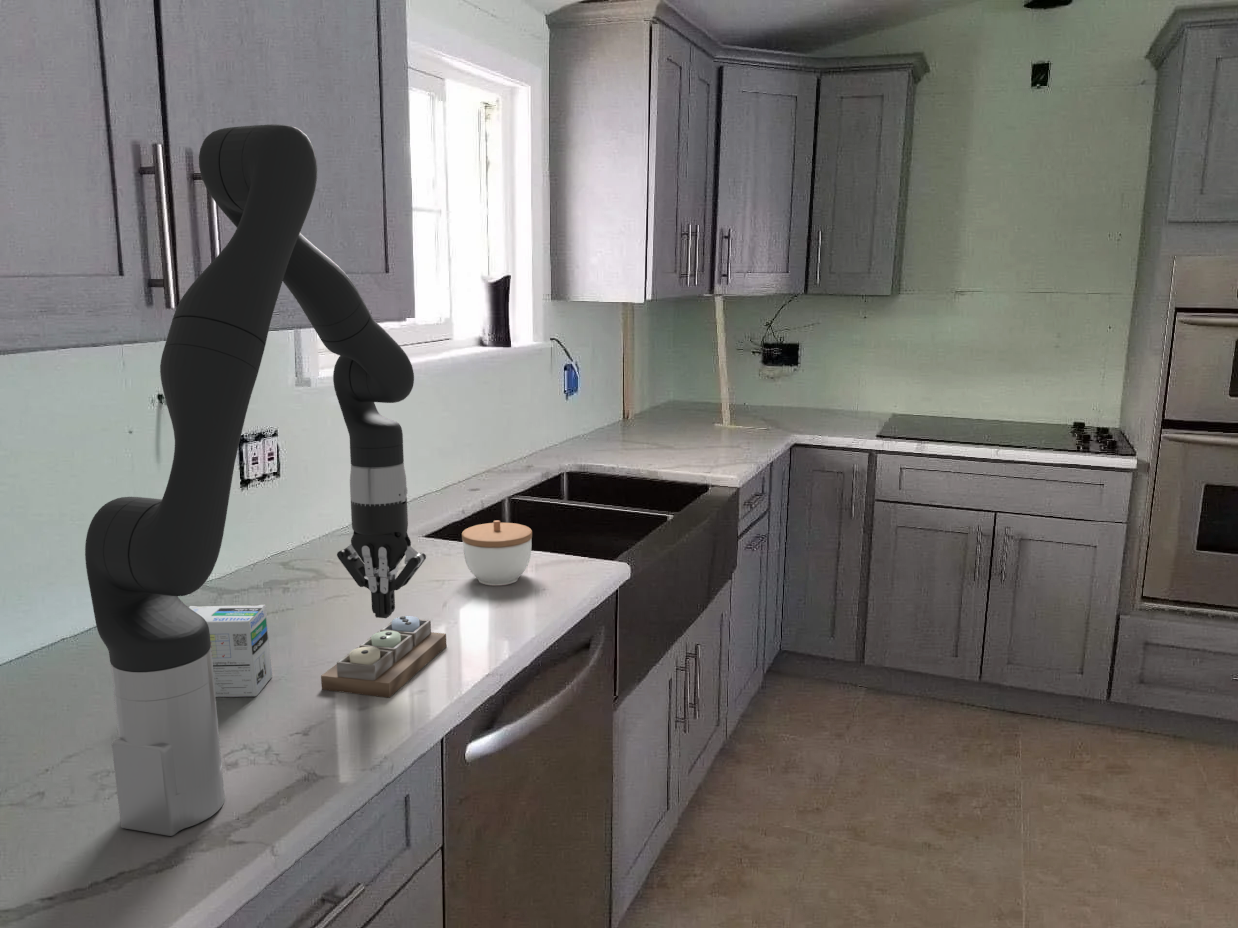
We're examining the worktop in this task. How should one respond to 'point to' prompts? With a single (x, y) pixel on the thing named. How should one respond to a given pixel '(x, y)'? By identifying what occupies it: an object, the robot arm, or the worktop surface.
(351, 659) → the one-pip button
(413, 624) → the three-pip button
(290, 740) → the worktop surface
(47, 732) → the worktop surface
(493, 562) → the lidded bowl
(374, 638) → the two-pip button
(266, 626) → the light bulb box
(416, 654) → the button panel
